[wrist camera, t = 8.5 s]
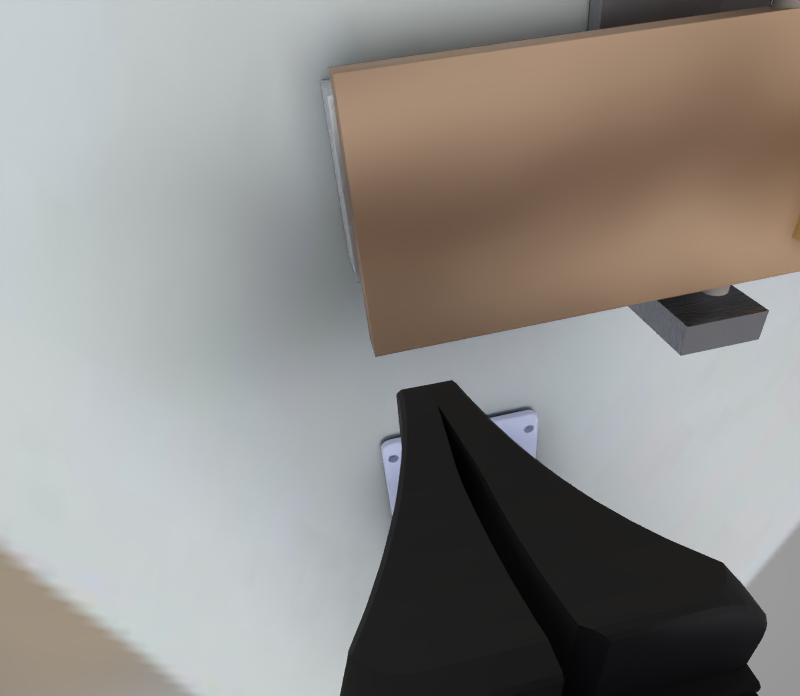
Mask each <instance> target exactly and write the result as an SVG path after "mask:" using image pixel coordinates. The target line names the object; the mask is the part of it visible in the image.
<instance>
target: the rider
mask: <svg viewBox="0 0 800 696" xmlns="http://www.w3.org/2000/svg"><path fill="white" fill-rule="evenodd" d="M792 238H794V239H796V240H798V241H800V215H799V218H798V221H797V224H796V227H795V230H794V232H793V235H792Z"/></svg>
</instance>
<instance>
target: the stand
mask: <svg viewBox="0 0 800 696" xmlns="http://www.w3.org/2000/svg"><path fill="white" fill-rule="evenodd" d="M770 4H771V0H590V11H589V22H588V31H592V30H599V29H606V28H613V27H620V26H628V25H635V24H642V23H649V22H656V21H663V20H670V19H678V18H685V17H692V16H699V15H706V14H713V13H720V12H728V11H735V10H742V9H749V8H756V7H763V6H770ZM320 83H321V89H322V95H323V101H324V107H325V113H326V119H327V126H328V132H329V138H330V144H331V150H332V156H333V162H334V168H335V174H336V180H337V186H338V192H339V198H340V205H341V211H342V217H343V223H344V229H345V235H346V241H347V247H348V253H349V256H350V259H351V263H352V266H353V270H354V273H355V276H356V280H357V283H358V282H361V276H360V269H359V263H358V256H357V250H356V243H355V237H354V230H353V224H352V217H351V211H350V204H349V198H348V191H347V185H346V178H345V172H344V165H343V159H342V153H341V146H340V140H339V133H338V127H337V120H336V114H335V107H334V101H333V94H332V88H331V81H330V79H327V80H320ZM628 307H629V308H631V309H632V310H633V311H634V312H635V313H636V314H637V315H638V316H639V317H640V318H641V319H642V320H643V321H644V322H645V323H647V324H648V325H649V326H650V327H651V328H652V329H653V330H654V331H655V332H656V333H657V334H658V335H659V336H660V337H661V338H663V339H664V340H665V341H666V342H667V343H668V344H669V345H670V346H671V347H672V348H673V349H674V350H675V351H676V352H677V353H678V354H680V355H686V354H691V353H696V352H700V351H705V350H710V349H715V348H719V347H724V346H729V345H734V344H738V343H743V342H748V341H752V340H757V339H759V337H760V334H761V331H762V329H763V326H764V323H765V320H766V317H767V314H768V312H769V310H767V309H766V308H764V307H763V306H762V305H760V304H759V303H757V302H756V301H754V300H753V299H751V298H750V297H748V296H747V295H746V294H744V293H743V292H741V291H740V290H738V289H737V288H735V287H734V286H732V285H730V288H729V291H728V293H727V294H726V295H723V296H712V295H708V294H705V293H703V292H702V291H699V292H694V293H689V294H684V295H680V296H675V297H670V298H665V299H660V300H655V301H650V302H645V303H640V304H635V305H630V306H628Z"/></svg>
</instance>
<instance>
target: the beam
mask: <svg viewBox="0 0 800 696" xmlns="http://www.w3.org/2000/svg"><path fill="white" fill-rule="evenodd" d="M328 68H329V75H330V81H331V88H332V94H333V101H334V107H335V114H336V120H337V127H338V133H339V140H340V146H341V153H342V159H343V165H344V172H345V178H346V185H347V191H348V198H349V204H350V211H351V217H352V224H353V230H354V237H355V243H356V250H357V256H358V263H359V269H360V276H361V282H362V288H363V295H364V301H365V308H366V314H367V321H368V327H369V334H370V340H371V343H372V347H373V350H374V353H375V357H377V356H382V355H387V354H392V353H397V352H402V351H407V350H412V349H417V348H422V347H427V346H432V345H437V344H442V343H447V342H452V341H457V340H461V339H466V338H471V337H476V336H481V335H486V334H491V333H496V332H501V331H506V330H511V329H516V328H521V327H526V326H531V325H536V324H541V323H546V322H551V321H556V320H561V319H566V318H570V317H575V316H580V315H585V314H590V313H595V312H600V311H605V310H610V309H615V308H620V307H625V306H630V305H635V304H640V303H645V302H650V301H655V300H660V299H665V298H670V297H675V296H680V295H684V294H689V293H694V292H699V291H702V292H703V293H705V294H708V295H712V296H723V295H726V294H727V293H728V291H729V288H730V285H734V284H739V283H744V282H749V281H754V280H759V279H764V278H769V277H774V276H779V275H784V274H789V273H793V272H798V271H800V241H798V240H796V239H794V238H792V235H793V232H794V230H795V227H796V224H797V221H798V218H799V215H800V0H773V4H772V5H770V6H763V7H756V8H749V9H742V10H735V11H728V12H720V13H713V14H706V15H699V16H692V17H685V18H678V19H670V20H663V21H656V22H649V23H642V24H635V25H628V26H620V27H613V28H606V29H599V30H592V31H585V32H578V33H570V34H563V35H556V36H549V37H542V38H535V39H528V40H520V41H513V42H506V43H499V44H492V45H485V46H478V47H470V48H463V49H456V50H449V51H442V52H435V53H428V54H420V55H413V56H406V57H399V58H392V59H385V60H378V61H370V62H363V63H356V64H349V65H342V66H335V67H328Z"/></svg>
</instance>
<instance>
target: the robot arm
mask: <svg viewBox="0 0 800 696" xmlns="http://www.w3.org/2000/svg"><path fill="white" fill-rule="evenodd" d="M397 405H398V415H399V425H400V435H401V437H399V438H395V439H390V440H387V441H385V442H384V443H383V444H382V446H381V452H382V458H383V464H384V470H385V476H386V482H387V489H388V495H389V501H390V507H391V513H392V521H391V525H390V530H389V534H388V538H387V541H386V545H385V549H384V553H383V557H382V560H381V564H380V567H379V570H378V573H377V576H376V579H375V582H374V585H373V588H372V591H371V594H370V597H369V600H368V603H367V606H366V608H365V611H364V614H363V616H362V619H361V621H360V624H359V626H358V629H357V631H356V634H355V636H354V638H353V641H352V643H351V646H350V648H349V651H348V658H347V663H346V668H345V673H344V677H343V683H342V688H341V693H340V696H758V695H757V693H756V692H758V691H759V690H760V688H761V687H760V683H759V681H758V680H757V678H756V677H755V675H754V674H753V672H752V671H751V669H750V668H749V667H748V665H747V662H748V661H749V659H750V657H751V656H752V654H753V653H754V651H755V649H756V648H757V646H758V644H759V643H760V641H761V639H762V638H763V635H764V633H765V630H766V626H767V620H766V614H765V613H764V612H763V610H762V609H761V608H760V606H759V605H758V604H757V603H756V601H755V600H754V599H753V597H752V596H751V595H750V593H749V592H748V591H747V590H746V588H745V587H744V586H743V585H742V583H741V582H740V581H739V580H738V579H737V578H736V577H735V576H734V575H733V574H732V573H731V571H730V570H729V569H728V568H727V567H726V566H725V565H724V563H722V562H720V561H718V560H715V559H713V558H711V557H708V556H706V555H703V554H701V553H699V552H696V551H694V550H692V549H689V548H687V547H685V546H682V545H680V544H678V543H675V542H673V541H671V540H669V539H666V538H664V537H662V536H660V535H658V534H656V533H654V532H652V531H650V530H648V529H646V528H644V527H642V526H640V525H638V524H636V523H634V522H632V521H630V520H629V519H627V518H625V517H623V516H621V515H620V514H618V513H616V512H614V511H613V510H611V509H609V508H607V507H606V506H604V505H602V504H600V503H599V502H597V501H595V500H593V499H592V498H590V497H589V496H587V495H586V494H584V493H583V492H581V491H580V490H578V489H576V488H575V487H573V486H572V485H571V484H569V483H568V482H566V481H565V480H563V479H562V478H560V477H559V476H558V475H556V474H555V473H553V472H552V471H551V470H549V469H548V468H547V467H545V466H544V465H543V464H542V463H540V462H539V461H538V460H537V459H536V446H537V432H538V416H537V414H536V413H535V412H534V411H533V410H525V411H520V412H515V413H511V414H506V415H501V416H497V417H492V418H489V417H488V416H487V415H486V414H485V413H484V412H483V411H482V410H481V409H480V408H479V407H478V406H477V405H476V404H475V403H474V402H473V401H472V400H471V399H470V398H469V397H468V396H467V395H466V394H465V392H464V391H463V390H462V389H461V388H460V387H459V386H458V385H457V384H456V383H455V382H454V381H452V380H451V381H445V382H440V383H435V384H429V385H424V386H419V387H413V388H408V389H403V390H400V391H399V392H398V393H397ZM526 426H528V427H526ZM525 427H526V428H525ZM392 455H395V456H393V457H390V456H392Z"/></svg>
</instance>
